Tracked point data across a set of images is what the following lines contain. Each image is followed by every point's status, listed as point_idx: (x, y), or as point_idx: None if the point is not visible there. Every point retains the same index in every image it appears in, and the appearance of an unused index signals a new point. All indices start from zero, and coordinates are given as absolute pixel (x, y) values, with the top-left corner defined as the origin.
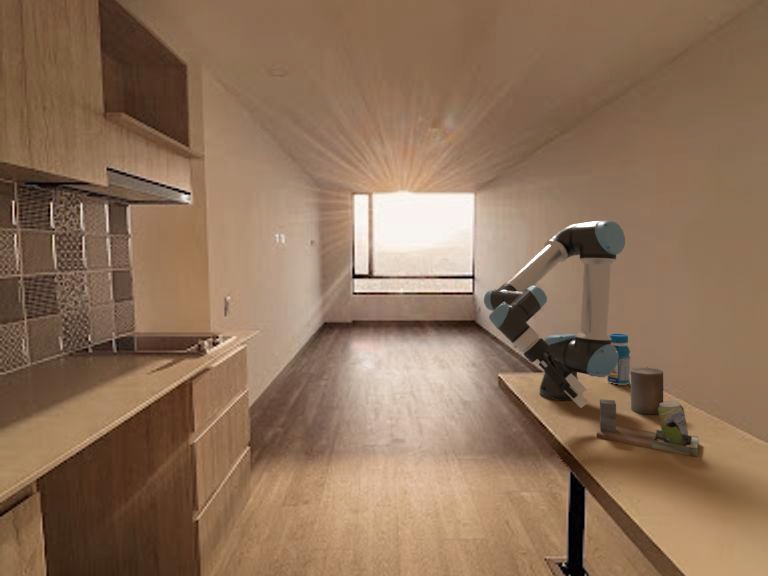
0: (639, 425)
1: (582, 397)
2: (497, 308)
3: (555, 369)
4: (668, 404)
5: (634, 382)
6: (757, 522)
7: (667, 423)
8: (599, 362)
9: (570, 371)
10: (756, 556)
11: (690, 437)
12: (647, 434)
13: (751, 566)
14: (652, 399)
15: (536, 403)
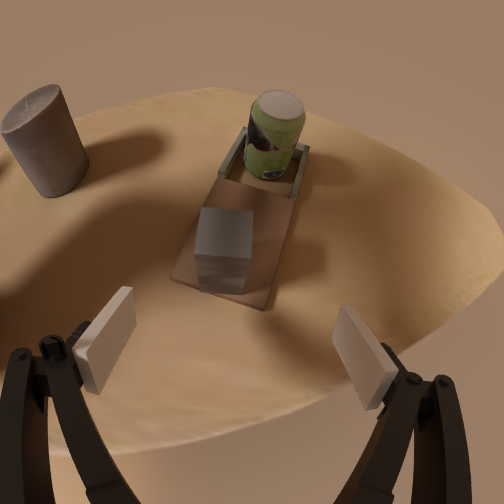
0: (148, 198)
1: (363, 323)
2: None
3: (388, 489)
4: (282, 106)
5: (35, 145)
6: (442, 178)
7: (295, 144)
8: None
9: (60, 349)
10: (481, 205)
11: (244, 136)
12: (233, 194)
13: (491, 215)
14: (76, 143)
15: None
